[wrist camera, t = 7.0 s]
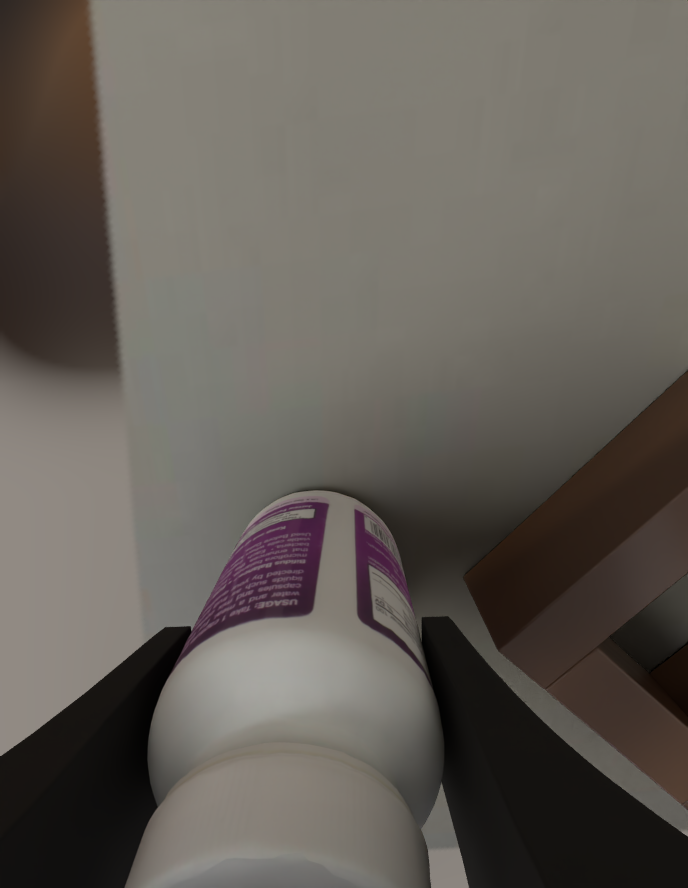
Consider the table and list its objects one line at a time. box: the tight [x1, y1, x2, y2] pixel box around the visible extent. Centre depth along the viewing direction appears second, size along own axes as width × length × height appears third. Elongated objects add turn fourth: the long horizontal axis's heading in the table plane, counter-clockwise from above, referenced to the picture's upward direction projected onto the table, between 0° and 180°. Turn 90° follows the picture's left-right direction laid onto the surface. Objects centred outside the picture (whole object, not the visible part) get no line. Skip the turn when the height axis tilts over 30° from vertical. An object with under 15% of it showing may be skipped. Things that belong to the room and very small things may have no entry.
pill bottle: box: [125, 490, 444, 888], centre depth 10 cm, size 5×5×10 cm
